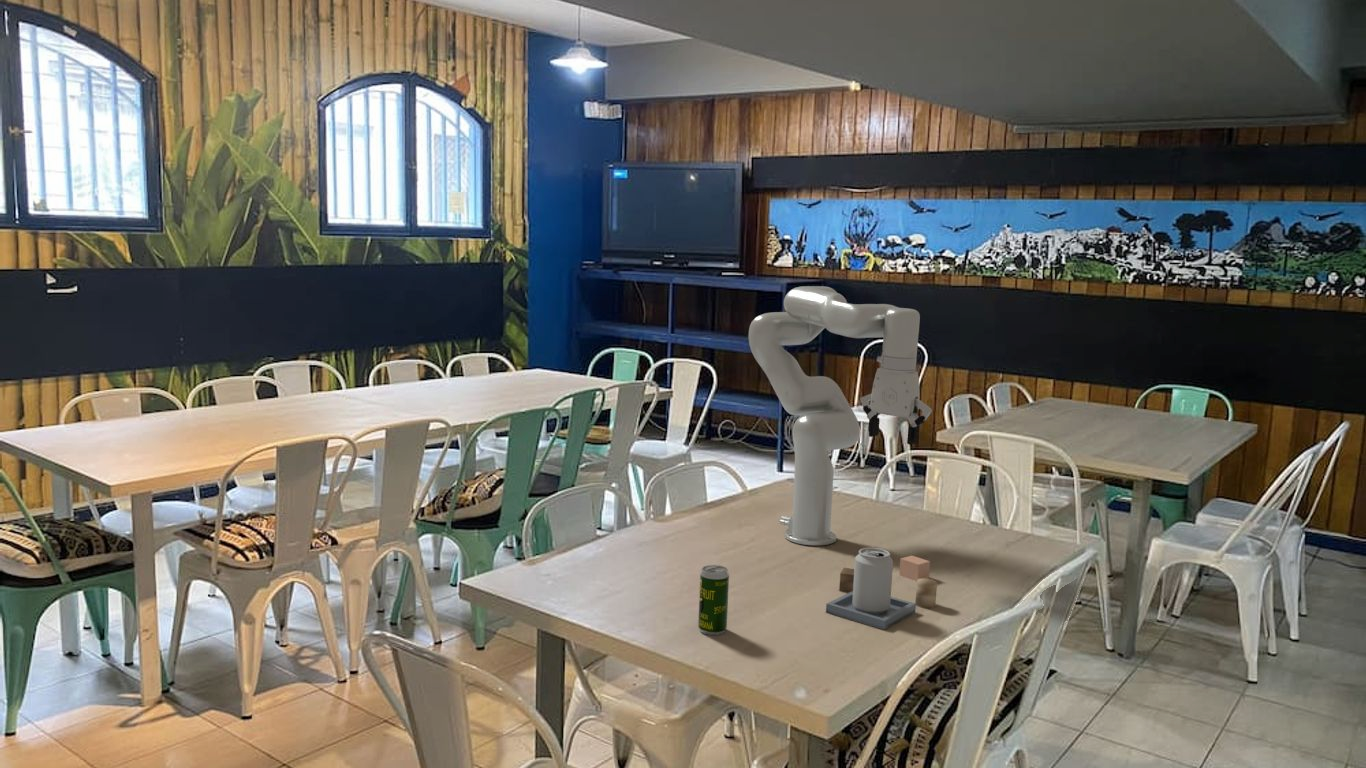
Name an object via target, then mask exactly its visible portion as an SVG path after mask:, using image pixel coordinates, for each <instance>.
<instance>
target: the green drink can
mask: <svg viewBox="0 0 1366 768" xmlns="http://www.w3.org/2000/svg"><path fill="white" fill-rule="evenodd" d="M699 576H700V578H699V595H698V596H699V598H698V622H697V623H698V624H697V625H698V627H697V628H698V629H699V632H700V633H701V634H705V635H706V636H707V635H708V636H720V635H723V634H725V632H726V630H727V628H728V627H727V626H728V608H729V607H728V605H729V589H730V588H729V587H730V586H729V585H730V584H729V583H730V582H729V581H730V575H729V569H728V568H727V567H726V566H722V565H716V564H711V565H710V564H708V565H706V566H702V567H701V571H700V575H699Z"/></svg>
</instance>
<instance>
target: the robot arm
mask: <svg viewBox="0 0 1366 768" xmlns="http://www.w3.org/2000/svg"><path fill="white" fill-rule="evenodd" d="M783 307H784V308H783V309H784V311H779V312H777V311H775V312H765V313H763V314H760V315H757V316H756V317H754V319H753V320H752V321H751V323H750V325H749V329H748V345H749V347H750V348H749V349H750V351H751V353H752V355H753V357H754V359H755V361H756V362H757V363H758V365H759V366H760V368H761V369H762V371H763V372H764V374H765V375H766V377H767V379H768V381H769V383H770V384H771V386H772V388H773V390H774V392H775V395H776V396H777V398H778V400H779V402H780V403H781V406H782V407H783V408H784V410H785V412H787V413H788V414H789V415H791V416H800V417H798V418H797V419H796V420H795V422H794V423H793V426H792V441H793V450H794V473H793V474H794V478H793V482H794V483H793V499H792V513H791V514H792V515H791V516H792V517H791V516H789V515H785V514H783V515H782V516H781V517H780V520H779V524H780V525H783V526H787V529H786V531H785V532H784V537H785V539H787V541H790V542H792V543H794V544H798V545H804V546H826V545H830V544H833V543H835V542H836V541H837V535H836V533H835V532H833V531H831V525H832V524H831V522H832V520H831V519H832V507H833V506H832V504H833V488H834V473H835V472H834V465H833V462H832V460H831V458H830V456H829V453H828V451H834V450H835V451H836V450H843V449H848V448H851V447H853V446H854V445H856V444H857V443H858V441H859V439H860V435H861V429H860V423H859V421H858V419H857V416H856V414H855V412H854V410H853V408H852V407H851V405H850V403H849V401H848V399H847V398H846V396H845V395H844V393H843V391H842V389H841V388H840V386H839V385H838V383H836V381H834V380H833V379H832V378H830V377H828V376H825V375H824V376H822V375H817V376H816V375H815V376H809V375H807V374H806V373H805V372H804V371H803V369H802V367H801V366H800V364H799V362H798V360H797V359H796V358H795V357H794V356H793V355H792V354H791V353H790V352H788V351H787V350H786V349H784V347H783V346H798V345H800V346H801V345H806V344H808V343H810V342H812V341H813V340H814V339H815V338H816V337H817V336H818V335H819V334H820V333H822V331H823V330H825V329H826V330H827V331H829V332H830V333H831V334H835V335H840V336H843V337H847V338H853V339H866V338H869V339H870V338H883V339H882V352H881V355H879V356H877V357H876V362H877V363H880V367H877V369H876V372H875V374H874V379H873V382H872V388H871V393H869V394H865V396H861V397H860V398H859V399H860V403H861V406H862V407H863V408H862V409H863V411H864V413H865V415H866V418H867V419H868V429H867V430H868V437H870V438H873V437H876V436H879V432H880V417H879V416H880V415H884V416H885V415H886V416H892V417H898V418H906V419H907V421H908V423H909V424H910V425H909V426H908V429H907V439H906V440H907V441H906V444H907V445H913V444H916V443H917V441H918V440H919V434H920V433H919V432H920V426H922V424H923V423H925V422H926V421H927V420H928V417H929V416H930V415H931V414H932V412H933V409H932V407H930V406H928V405H927V404H926V403H925V402H924V401H922V400H920V379H919V373H918V371H916V369H917V368H916V367H917V357H918V355H917V354H918V344H919V333H920V321H921V320H920V319H921V318H920V317H921V315H920V312H919V311H918V310H916V309H913V308H908V307H907V308H906V307H905V308H904V307H899V306H896V305H893V304H887V303H877V304H876V303H863V304H860V303H859V304H856V303H854V304H853V303H849V302H848V301H847V299H846V298H845V297H844V296H843V295H842V294H841V293H838V292H837V291H836V290H835V289H834V288H832V287H829V286H823V285H821V286H819V285H817V286H815V285H812V286H810V285H807V286H798V287H794V288H792V289H790V290H789V291H788V292H787V293H786V295H785V296H784V299H783ZM919 410H921V411H922V413H921V415H918V413H919Z"/></svg>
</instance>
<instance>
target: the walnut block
mask: <svg viewBox="0 0 1366 768" xmlns="http://www.w3.org/2000/svg"><path fill="white" fill-rule="evenodd" d="M853 584H854V568H849V567H843V569H842V570H841V571H840V573H839V585H838V586H839V592H843V593H844V592H845V593H850V592H852V591H853Z"/></svg>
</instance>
